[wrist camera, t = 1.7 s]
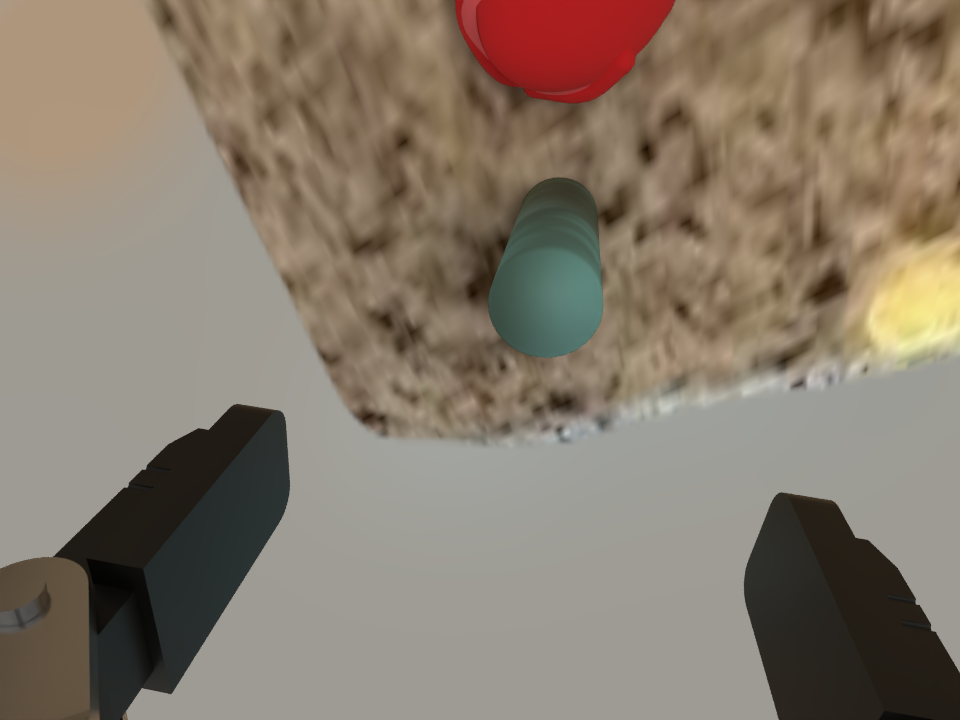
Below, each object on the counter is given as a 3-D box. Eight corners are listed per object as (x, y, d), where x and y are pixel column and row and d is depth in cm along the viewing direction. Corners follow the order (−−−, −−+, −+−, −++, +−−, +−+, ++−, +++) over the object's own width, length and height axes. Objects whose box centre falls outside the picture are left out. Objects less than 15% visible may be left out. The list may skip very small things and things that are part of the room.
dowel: (603, 182, 25) (612, 259, 17) (590, 257, 27) (592, 364, 18) (525, 173, 26) (494, 243, 17) (516, 248, 27) (483, 348, 18)
